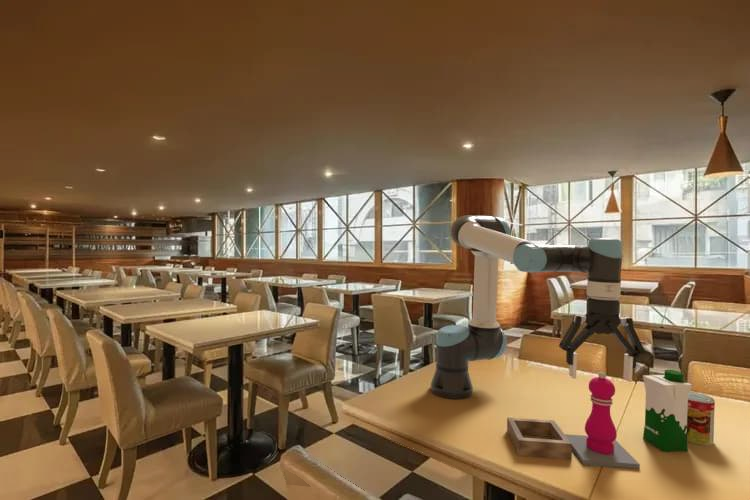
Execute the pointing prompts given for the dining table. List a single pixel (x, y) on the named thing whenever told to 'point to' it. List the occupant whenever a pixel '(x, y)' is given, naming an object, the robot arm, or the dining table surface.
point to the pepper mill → (601, 416)
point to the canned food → (700, 419)
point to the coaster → (597, 459)
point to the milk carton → (666, 411)
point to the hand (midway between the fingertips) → (599, 378)
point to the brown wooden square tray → (539, 447)
